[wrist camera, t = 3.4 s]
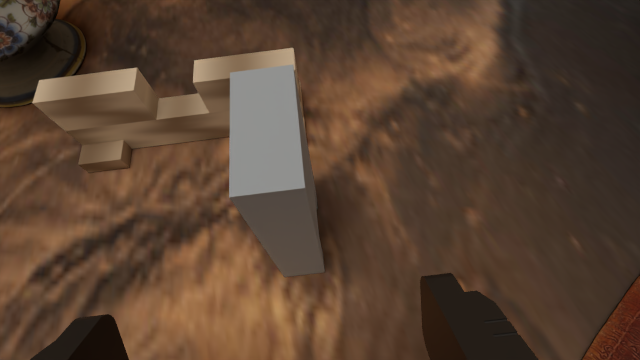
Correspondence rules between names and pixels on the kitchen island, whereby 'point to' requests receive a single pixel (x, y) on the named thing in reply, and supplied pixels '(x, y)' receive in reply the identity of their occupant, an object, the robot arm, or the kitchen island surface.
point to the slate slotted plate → (274, 168)
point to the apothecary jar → (35, 48)
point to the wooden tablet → (620, 331)
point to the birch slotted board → (146, 108)
